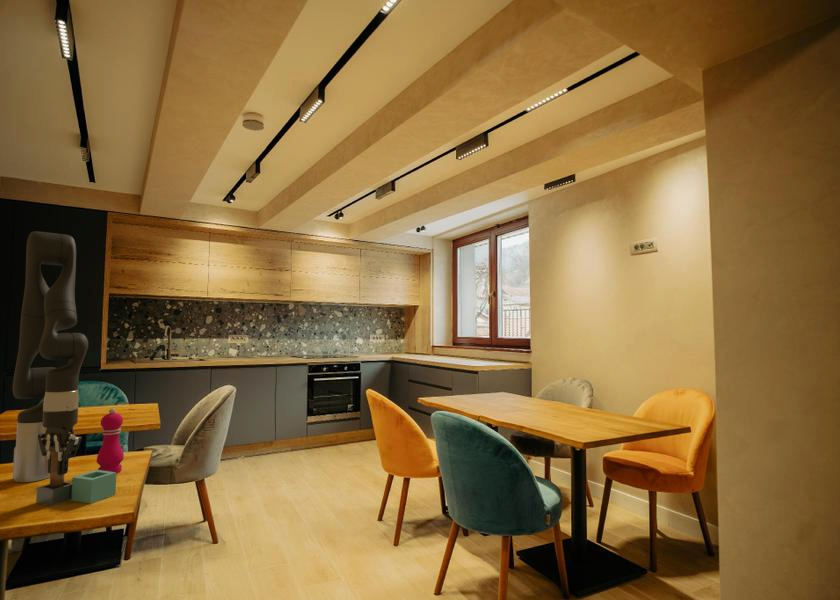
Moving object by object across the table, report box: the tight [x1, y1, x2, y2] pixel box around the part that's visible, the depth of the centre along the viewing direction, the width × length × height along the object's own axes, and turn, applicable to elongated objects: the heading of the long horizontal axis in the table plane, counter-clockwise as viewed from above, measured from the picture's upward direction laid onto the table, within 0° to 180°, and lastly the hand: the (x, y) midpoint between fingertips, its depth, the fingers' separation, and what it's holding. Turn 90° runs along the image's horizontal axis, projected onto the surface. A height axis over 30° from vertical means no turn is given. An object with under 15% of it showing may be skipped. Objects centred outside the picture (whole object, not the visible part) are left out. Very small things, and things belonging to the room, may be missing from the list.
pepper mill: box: [96, 407, 125, 474], centre depth 152 cm, size 7×7×20 cm
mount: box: [35, 480, 72, 507], centre depth 126 cm, size 6×6×4 cm
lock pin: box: [49, 446, 67, 489], centre depth 127 cm, size 4×4×12 cm
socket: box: [70, 469, 117, 504], centre depth 129 cm, size 7×7×6 cm
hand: (57, 473), depth 127 cm, fingers closed on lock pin, 3 cm apart
